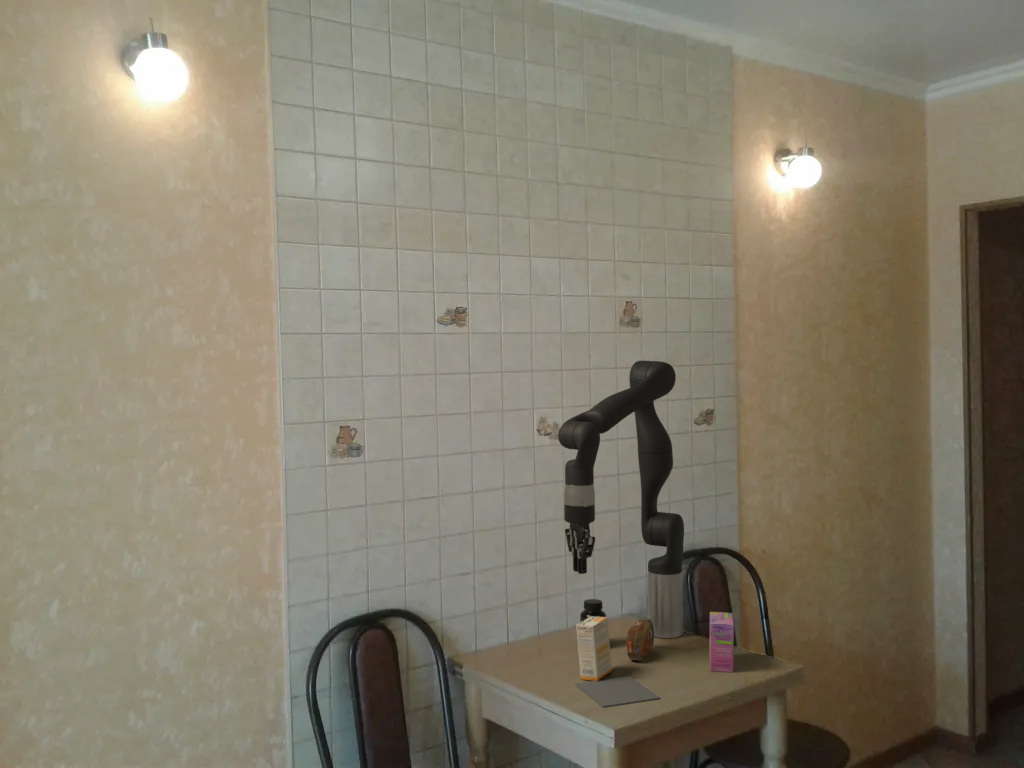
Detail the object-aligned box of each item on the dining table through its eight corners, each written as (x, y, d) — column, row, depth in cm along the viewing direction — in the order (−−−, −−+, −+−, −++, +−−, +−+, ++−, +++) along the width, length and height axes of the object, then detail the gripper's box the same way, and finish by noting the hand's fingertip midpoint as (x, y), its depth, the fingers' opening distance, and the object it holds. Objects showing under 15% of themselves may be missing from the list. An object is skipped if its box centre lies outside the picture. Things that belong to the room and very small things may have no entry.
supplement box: (594, 669, 227) (590, 615, 227) (612, 671, 225) (608, 616, 225) (579, 679, 220) (574, 624, 220) (597, 681, 218) (593, 625, 218)
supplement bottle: (574, 646, 245) (574, 601, 245) (592, 641, 250) (592, 596, 250) (594, 652, 240) (593, 606, 240) (611, 646, 245) (611, 601, 245)
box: (734, 673, 224) (734, 624, 224) (709, 671, 225) (709, 623, 225) (732, 659, 234) (732, 612, 234) (709, 658, 235) (709, 611, 235)
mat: (575, 684, 217) (575, 683, 217) (629, 677, 222) (629, 676, 222) (603, 707, 203) (603, 706, 203) (660, 698, 207) (660, 697, 207)
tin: (636, 665, 230) (636, 631, 230) (624, 663, 232) (624, 630, 231) (655, 648, 244) (655, 616, 243) (643, 646, 245) (643, 614, 245)
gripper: (554, 499, 235) (555, 567, 236) (576, 507, 222) (577, 579, 222) (581, 497, 238) (582, 565, 238) (605, 505, 225) (606, 577, 225)
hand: (580, 571), depth 230 cm, fingers closed
